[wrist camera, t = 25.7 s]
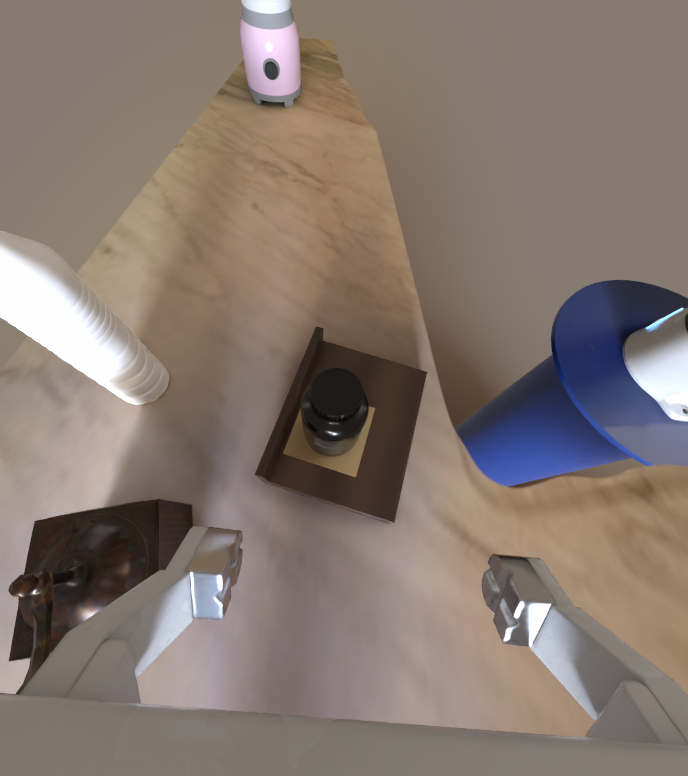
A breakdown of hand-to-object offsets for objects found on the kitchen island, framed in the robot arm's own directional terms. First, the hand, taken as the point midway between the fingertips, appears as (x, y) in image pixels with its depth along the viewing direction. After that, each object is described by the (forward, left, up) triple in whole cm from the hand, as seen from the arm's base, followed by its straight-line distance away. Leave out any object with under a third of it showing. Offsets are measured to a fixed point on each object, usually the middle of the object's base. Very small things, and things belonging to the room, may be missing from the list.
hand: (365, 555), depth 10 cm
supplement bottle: (+4, -11, -26) cm, 29 cm away
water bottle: (+31, -11, -30) cm, 44 cm away
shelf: (+2, -13, -29) cm, 32 cm away
